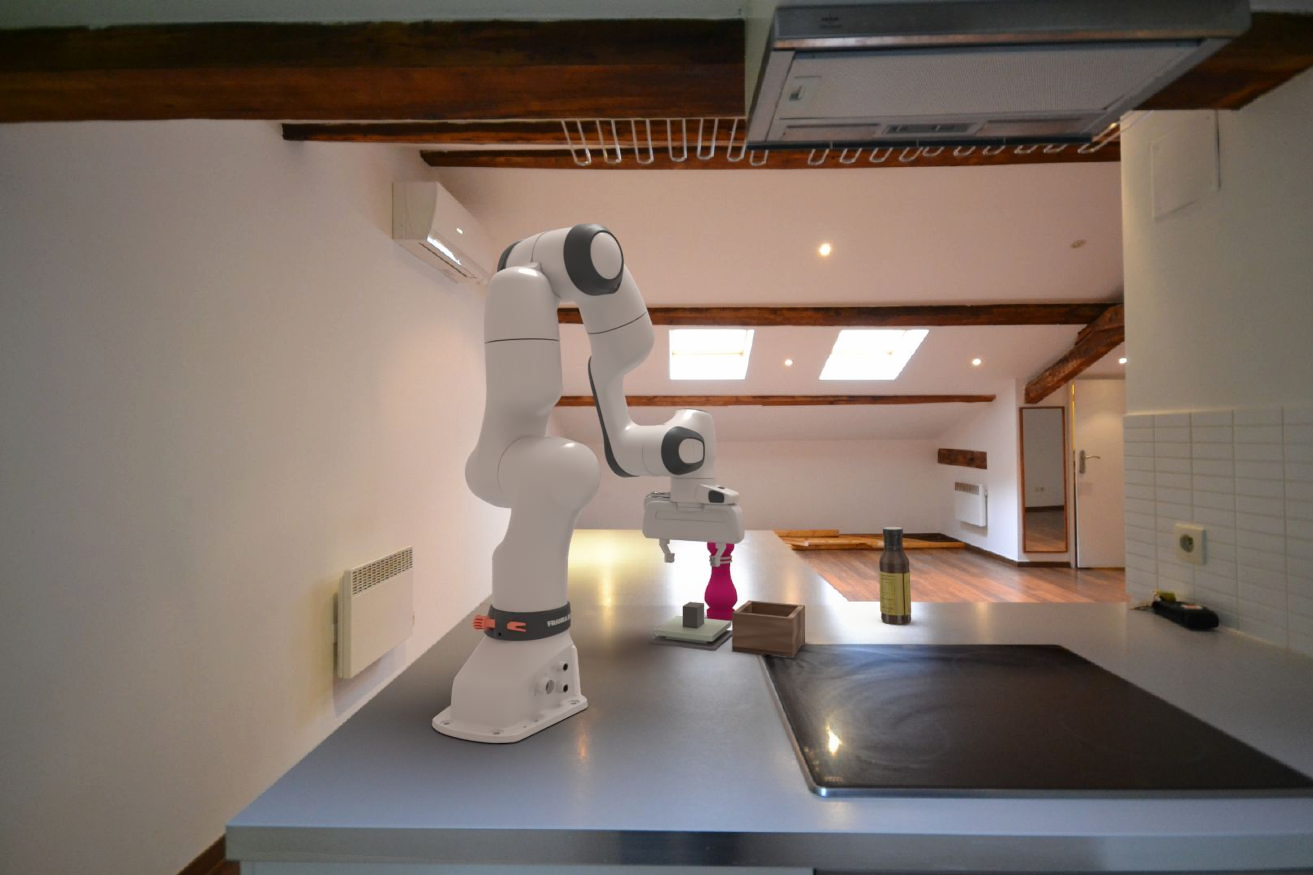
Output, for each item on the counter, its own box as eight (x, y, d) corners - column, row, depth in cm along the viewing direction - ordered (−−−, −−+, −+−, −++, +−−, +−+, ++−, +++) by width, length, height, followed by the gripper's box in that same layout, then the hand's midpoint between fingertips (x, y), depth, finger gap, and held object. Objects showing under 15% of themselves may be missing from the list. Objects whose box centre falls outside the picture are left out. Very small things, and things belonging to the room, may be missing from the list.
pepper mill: (699, 615, 155) (699, 524, 155) (729, 612, 157) (729, 523, 157) (711, 623, 148) (711, 528, 148) (743, 620, 150) (742, 526, 150)
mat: (714, 651, 128) (714, 648, 128) (649, 643, 133) (649, 640, 133) (735, 633, 140) (735, 630, 140) (675, 626, 145) (675, 624, 145)
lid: (712, 646, 129) (712, 614, 129) (654, 640, 134) (654, 608, 134) (731, 631, 140) (731, 600, 140) (676, 625, 144) (676, 596, 144)
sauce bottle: (900, 617, 152) (899, 525, 152) (917, 624, 146) (916, 528, 146) (873, 618, 151) (873, 526, 151) (889, 626, 145) (889, 529, 145)
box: (792, 658, 123) (792, 618, 124) (732, 651, 128) (732, 612, 128) (805, 642, 134) (804, 605, 134) (748, 635, 138) (748, 600, 138)
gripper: (637, 491, 138) (636, 562, 138) (738, 495, 130) (737, 570, 130) (650, 490, 144) (649, 558, 143) (747, 493, 136) (746, 565, 135)
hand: (692, 564), depth 136 cm, fingers open, 8 cm apart
